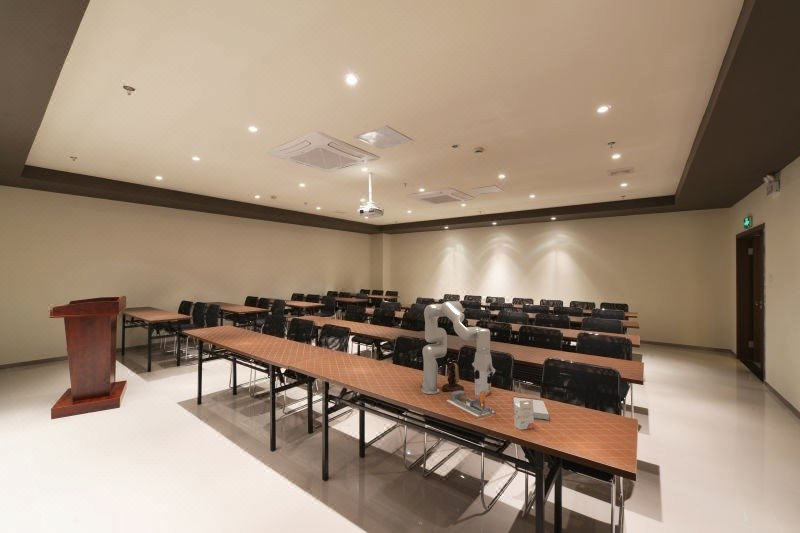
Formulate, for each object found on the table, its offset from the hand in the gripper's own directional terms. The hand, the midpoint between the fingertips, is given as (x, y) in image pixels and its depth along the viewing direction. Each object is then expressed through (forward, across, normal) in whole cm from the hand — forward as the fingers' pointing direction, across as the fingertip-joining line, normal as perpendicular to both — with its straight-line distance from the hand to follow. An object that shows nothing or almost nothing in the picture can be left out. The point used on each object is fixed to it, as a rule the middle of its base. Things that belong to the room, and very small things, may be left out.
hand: (483, 381), depth 192 cm
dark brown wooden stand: (+19, -41, +12) cm, 46 cm away
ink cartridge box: (+20, +21, +8) cm, 30 cm away
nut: (+17, -17, 0) cm, 24 cm away
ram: (+17, -3, 0) cm, 18 cm away
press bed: (+19, -11, 0) cm, 22 cm away
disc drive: (+20, +9, +28) cm, 36 cm away
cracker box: (+19, -25, +24) cm, 39 cm away
